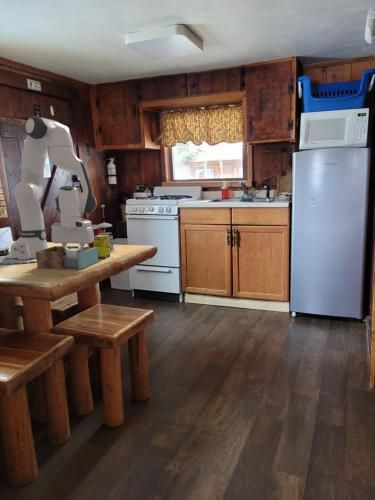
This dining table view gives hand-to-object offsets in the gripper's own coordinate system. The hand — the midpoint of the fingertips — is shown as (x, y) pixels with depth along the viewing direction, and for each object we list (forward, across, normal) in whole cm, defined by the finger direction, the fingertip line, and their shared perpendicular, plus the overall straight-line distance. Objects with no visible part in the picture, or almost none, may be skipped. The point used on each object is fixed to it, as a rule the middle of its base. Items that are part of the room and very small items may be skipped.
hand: (74, 252), depth 177 cm
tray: (+6, +1, 0) cm, 6 cm away
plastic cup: (+6, -16, +46) cm, 49 cm away
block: (+4, 0, 0) cm, 4 cm away
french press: (+6, -2, +33) cm, 34 cm away
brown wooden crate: (+6, -8, 0) cm, 10 cm away
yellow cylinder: (+6, +4, +18) cm, 20 cm away
